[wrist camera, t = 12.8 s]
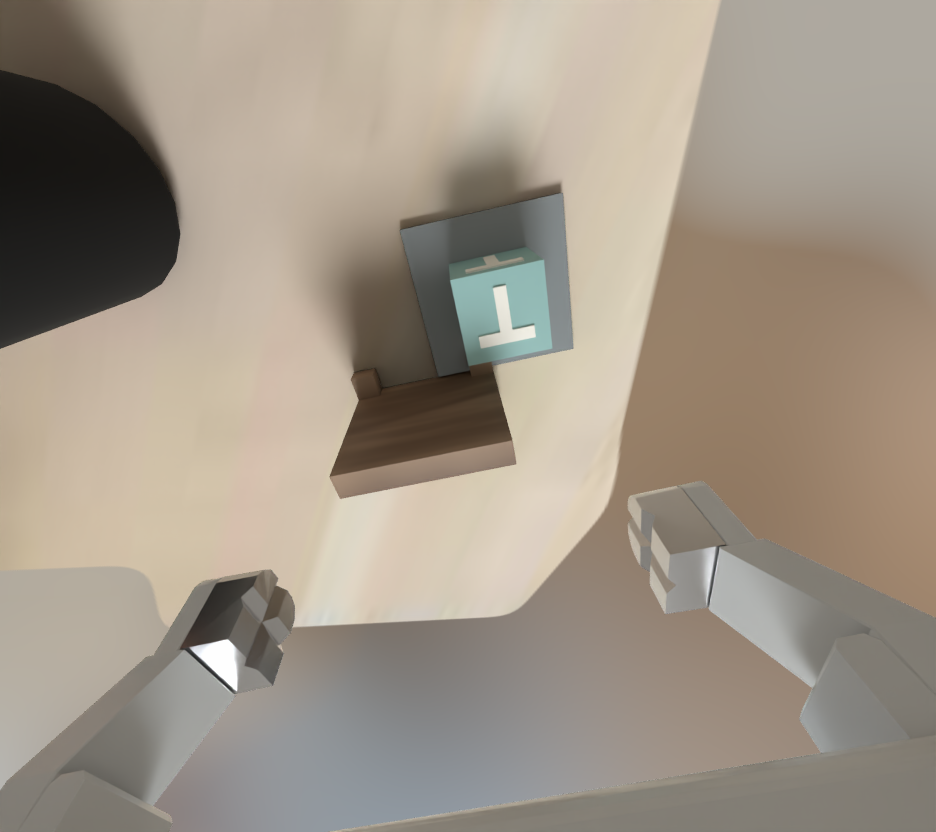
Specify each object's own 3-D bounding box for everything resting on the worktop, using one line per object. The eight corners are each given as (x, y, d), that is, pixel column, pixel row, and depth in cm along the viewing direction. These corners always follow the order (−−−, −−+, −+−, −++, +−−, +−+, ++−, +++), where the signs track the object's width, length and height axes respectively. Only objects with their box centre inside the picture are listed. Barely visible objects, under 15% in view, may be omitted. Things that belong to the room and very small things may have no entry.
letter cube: (448, 262, 25) (449, 278, 21) (525, 245, 25) (544, 257, 20) (464, 338, 28) (468, 366, 23) (535, 322, 27) (552, 349, 23)
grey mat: (400, 229, 24) (399, 230, 24) (560, 192, 24) (562, 192, 24) (438, 374, 29) (438, 376, 29) (571, 346, 29) (573, 348, 29)
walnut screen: (354, 372, 29) (317, 451, 20) (487, 344, 29) (507, 413, 20) (375, 428, 32) (350, 520, 23) (498, 403, 31) (520, 487, 22)
